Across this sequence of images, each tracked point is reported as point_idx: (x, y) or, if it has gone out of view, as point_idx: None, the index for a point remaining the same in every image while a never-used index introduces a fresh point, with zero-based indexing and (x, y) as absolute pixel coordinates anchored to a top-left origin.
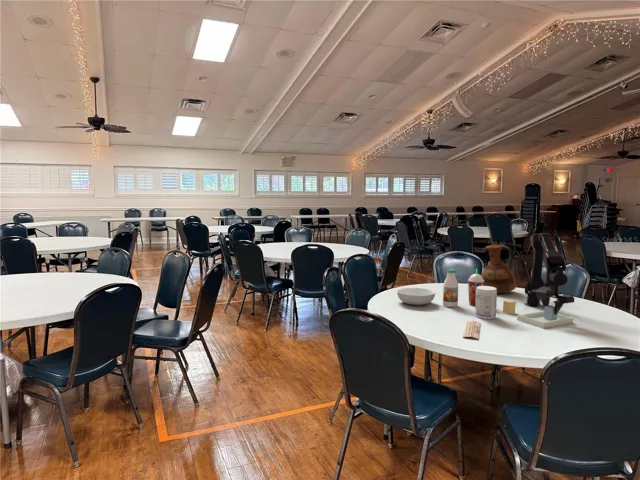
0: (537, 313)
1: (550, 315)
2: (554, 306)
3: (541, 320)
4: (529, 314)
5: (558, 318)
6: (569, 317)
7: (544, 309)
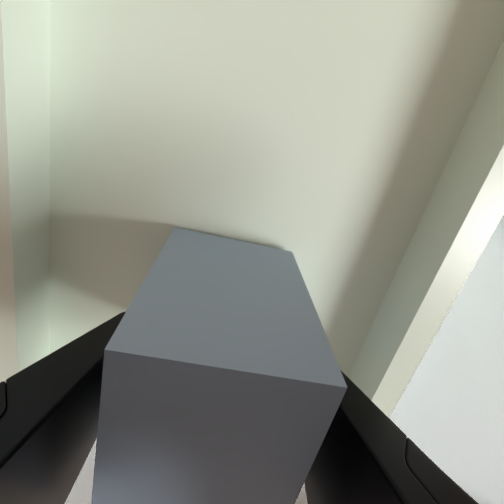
0: (408, 306)
1: (183, 257)
2: (161, 496)
3: (273, 126)
4: (498, 134)
5: None
6: None
7: (318, 327)
